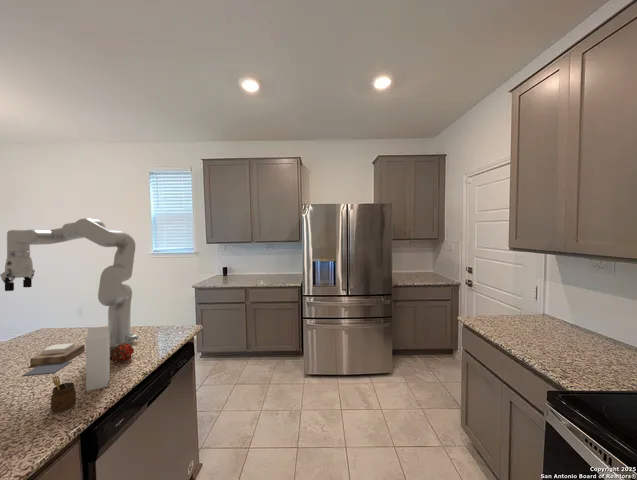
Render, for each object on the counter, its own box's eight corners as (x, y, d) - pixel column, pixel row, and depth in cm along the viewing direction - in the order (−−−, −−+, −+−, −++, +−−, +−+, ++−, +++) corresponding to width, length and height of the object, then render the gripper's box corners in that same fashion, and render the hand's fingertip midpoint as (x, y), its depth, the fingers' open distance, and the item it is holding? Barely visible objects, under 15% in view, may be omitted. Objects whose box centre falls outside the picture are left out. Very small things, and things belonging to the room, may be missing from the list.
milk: (106, 387, 98) (106, 328, 98) (85, 391, 96) (85, 331, 95) (109, 379, 104) (109, 323, 104) (89, 383, 101) (90, 326, 101)
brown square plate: (84, 350, 131) (84, 344, 131) (65, 362, 118) (65, 356, 118) (53, 353, 128) (53, 346, 128) (30, 365, 115) (30, 358, 115)
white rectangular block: (74, 347, 127) (74, 343, 127) (65, 352, 121) (65, 348, 121) (52, 349, 125) (52, 344, 125) (42, 354, 120) (42, 350, 120)
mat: (71, 362, 118) (71, 361, 118) (54, 373, 109) (54, 372, 109) (42, 364, 116) (42, 363, 116) (22, 376, 106) (22, 375, 106)
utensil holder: (80, 401, 90) (80, 366, 90) (65, 412, 84) (65, 375, 84) (60, 402, 89) (60, 367, 89) (44, 415, 83) (44, 377, 83)
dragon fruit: (116, 371, 113) (122, 363, 124) (135, 355, 117) (140, 349, 128) (102, 357, 112) (109, 350, 123) (122, 341, 116) (127, 337, 126)
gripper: (11, 255, 123) (11, 292, 123) (42, 253, 140) (42, 285, 140) (-9, 255, 122) (-9, 292, 122) (25, 253, 139) (25, 286, 139)
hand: (18, 288), depth 131 cm, fingers open, 9 cm apart
